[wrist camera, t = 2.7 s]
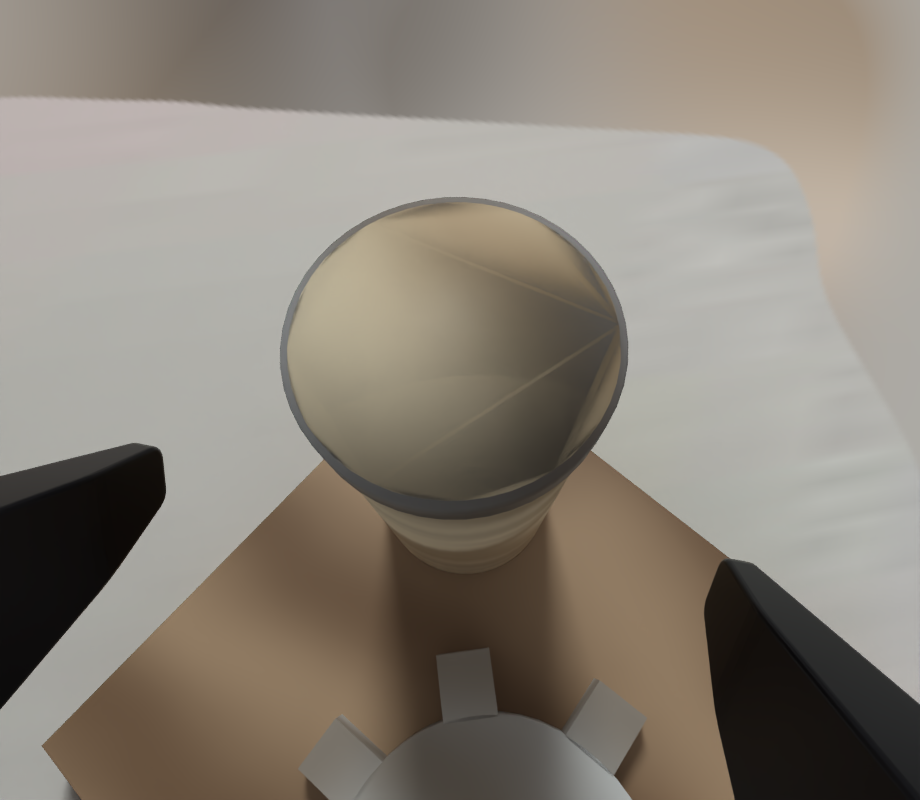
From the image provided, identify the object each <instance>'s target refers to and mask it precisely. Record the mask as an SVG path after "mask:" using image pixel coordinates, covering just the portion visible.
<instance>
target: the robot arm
mask: <svg viewBox="0 0 920 800" xmlns="http://www.w3.org/2000/svg"><path fill="white" fill-rule="evenodd" d="M165 495H166V483H165V474H164V464H163V456H162V453H161V451H160V450H159V449H158V448H157V447H154V446H149V445H144V444H139V443H131V444H127V445H123V446H119V447H115V448H111V449H107V450H103V451H99V452H95V453H91V454H87V455H83V456H79V457H75V458H71V459H67V460H63V461H59V462H55V463H51V464H47V465H43V466H39V467H35V468H31V469H27V470H23V471H19V472H15V473H11V474H7V475H3V476H0V709H1V708H2V707H3V706H4V705H5V703H6V702H7V701H8V700H9V699H10V697H11V696H12V695H13V694H14V693H15V692H16V690H17V689H18V688H19V687H20V686H21V684H22V683H23V682H24V681H25V680H26V679H27V677H28V676H29V675H30V674H31V673H32V671H33V670H34V669H35V668H36V667H37V666H38V664H39V663H40V662H41V661H42V660H43V658H44V657H45V656H46V655H47V654H48V653H49V651H50V650H51V649H52V648H53V647H54V645H55V644H56V643H57V642H58V641H59V640H60V638H61V637H62V636H63V635H64V634H65V632H66V631H67V630H68V629H69V628H70V627H71V625H72V624H73V623H74V622H75V621H76V620H77V618H78V617H79V616H80V615H81V614H82V612H83V611H84V610H85V609H86V608H87V607H88V605H89V604H90V603H91V602H92V601H93V599H94V598H95V597H96V596H97V595H98V594H99V592H100V591H101V590H102V589H103V587H104V586H105V585H106V584H107V582H108V581H109V580H110V579H111V577H112V576H113V575H114V573H115V572H116V570H117V569H118V568H119V566H120V565H121V563H122V562H123V561H124V559H125V558H126V556H127V555H128V553H129V552H130V550H131V549H132V548H133V546H134V545H135V543H136V542H137V540H138V539H139V537H140V536H141V534H142V533H143V532H144V530H145V529H146V527H147V526H148V524H149V523H150V521H151V520H152V519H153V517H154V516H155V514H156V513H157V511H158V510H159V508H160V507H161V505H162V503H163V501H164V499H165ZM704 621H705V630H706V639H707V648H708V657H709V666H710V675H711V684H712V693H713V700H714V708H715V714H716V719H717V724H718V729H719V733H720V738H721V742H722V746H723V751H724V755H725V760H726V764H727V768H728V773H729V777H730V781H731V786H732V790H733V794H734V799H735V800H920V704H919V703H918V702H916V701H915V700H914V699H913V698H912V697H910V696H909V695H908V694H907V693H906V692H905V691H903V690H902V689H901V688H900V687H899V686H897V685H896V684H895V683H894V682H893V681H892V680H890V679H889V678H888V677H887V676H886V675H884V674H883V673H882V672H881V671H880V670H879V669H877V668H876V667H875V666H874V665H873V664H871V663H870V662H869V661H868V660H867V659H866V658H864V657H863V656H862V655H861V654H860V653H858V652H857V651H856V650H855V649H854V648H852V647H851V646H850V645H849V644H848V643H847V642H845V641H844V640H843V639H842V638H841V637H839V636H838V635H837V634H836V633H835V632H834V631H832V630H831V629H830V628H829V627H828V626H826V625H825V624H824V623H823V622H822V621H821V620H819V619H818V618H817V617H816V616H815V615H813V614H812V613H811V612H810V611H809V610H808V609H806V608H805V607H804V606H803V605H802V604H800V603H799V602H798V601H797V600H796V599H795V598H793V597H792V596H791V595H790V594H789V593H787V592H786V591H785V590H784V589H783V588H782V587H780V586H779V585H778V584H777V583H776V582H774V581H773V580H772V579H771V578H770V577H769V576H767V575H766V574H765V573H764V572H763V571H761V570H760V569H759V568H758V567H757V566H755V565H754V564H752V563H750V562H745V561H740V560H735V559H729V558H726V559H724V560H722V561H721V562H720V564H719V566H718V568H717V571H716V573H715V576H714V579H713V581H712V584H711V587H710V589H709V592H708V595H707V597H706V600H705V605H704Z"/></svg>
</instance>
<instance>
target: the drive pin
mask: <svg viewBox="0 0 920 800" xmlns="http://www.w3.org/2000/svg"><path fill="white" fill-rule="evenodd" d="M627 365H628V338H627V329H626V322H625V319H624V315H623V311H622V307H621V304H620V302H619V299H618V297H617V295H616V292H615V290H614V288H613V285H612V284H611V282H610V280H609V279H608V277H607V275H606V274H605V272H604V270H603V269H602V268H601V266H600V265H599V264H598V263H597V261H596V260H595V259H594V258H593V256H592V255H591V254H590V253H589V252H588V251H587V250H586V249H585V248H584V247H583V246H582V245H581V244H580V243H579V242H578V241H577V240H576V239H575V238H573V237H572V236H571V235H569V234H568V233H567V232H565V231H564V230H563V229H561V228H560V227H558V226H557V225H555V224H553V223H552V222H550V221H548V220H546V219H545V218H543V217H541V216H539V215H536V214H534V213H532V212H530V211H527V210H525V209H522V208H519V207H516V206H513V205H510V204H506V203H503V202H497V201H492V200H487V199H479V198H468V197H445V198H436V199H428V200H421V201H417V202H413V203H408V204H404V205H401V206H398V207H395V208H392V209H389V210H387V211H384V212H382V213H380V214H377V215H375V216H373V217H371V218H369V219H367V220H365V221H363V222H362V223H360V224H359V225H357V226H355V227H354V228H352V229H350V230H349V231H347V232H346V233H345V234H344V235H342V236H341V237H340V238H339V239H337V240H336V241H335V242H334V243H332V244H331V245H330V246H329V247H328V248H327V249H326V250H325V251H324V252H323V253H322V254H321V255H320V256H319V257H318V259H317V260H316V261H315V262H314V264H313V265H312V266H311V268H310V269H309V270H308V271H307V273H306V274H305V276H304V277H303V279H302V281H301V283H300V284H299V286H298V288H297V289H296V291H295V293H294V296H293V298H292V300H291V303H290V305H289V307H288V310H287V314H286V318H285V321H284V325H283V329H282V337H281V345H280V369H281V375H282V381H283V387H284V391H285V394H286V397H287V400H288V403H289V406H290V409H291V411H292V413H293V415H294V417H295V419H296V421H297V423H298V425H299V427H300V429H301V430H302V432H303V433H304V435H305V436H306V437H307V439H308V440H309V442H310V443H311V445H312V446H313V447H314V448H315V449H316V451H317V452H318V453H319V454H320V455H321V456H322V457H323V459H324V460H325V461H326V462H327V463H328V464H329V465H330V466H331V467H332V468H333V469H334V471H335V472H336V473H337V474H338V475H339V476H340V477H341V478H342V479H344V480H345V481H346V482H347V483H349V484H350V485H351V486H352V487H354V488H355V489H356V490H357V491H359V492H360V493H361V494H362V495H363V496H364V497H365V498H366V500H367V501H368V502H369V503H370V504H371V506H372V507H373V508H374V509H375V511H376V512H377V513H378V514H379V515H380V517H381V518H382V519H383V520H384V521H385V523H386V524H387V525H388V526H389V528H390V529H391V530H392V531H393V532H394V534H395V535H396V536H397V537H398V538H399V540H400V541H401V542H402V543H403V545H404V546H405V547H406V548H407V549H408V550H409V551H410V552H411V553H412V554H413V555H414V556H416V557H417V558H418V559H419V560H421V561H422V562H424V563H426V564H427V565H429V566H431V567H434V568H436V569H438V570H442V571H445V572H449V573H455V574H476V573H483V572H486V571H490V570H493V569H495V568H498V567H500V566H502V565H504V564H506V563H507V562H509V561H511V560H512V559H514V558H515V557H516V556H517V555H518V554H520V553H521V552H522V551H523V550H524V549H525V547H526V546H527V545H528V544H529V543H530V541H531V540H532V538H533V537H534V535H535V534H536V532H537V530H538V528H539V527H540V525H541V523H542V522H543V520H544V518H545V516H546V515H547V513H548V511H549V509H550V508H551V506H552V504H553V503H554V501H555V499H556V497H557V496H558V494H559V492H560V490H561V489H562V487H563V485H564V484H565V482H566V480H567V478H568V477H569V475H570V474H571V473H572V472H573V471H574V470H575V469H576V468H577V467H578V466H579V465H580V464H581V463H582V462H583V461H584V459H585V458H586V456H587V455H588V454H589V452H590V451H591V449H592V448H593V447H594V445H595V444H596V442H597V441H598V439H599V437H600V436H601V434H602V433H603V431H604V429H605V428H606V426H607V424H608V422H609V420H610V418H611V416H612V415H613V413H614V411H615V409H616V407H617V404H618V401H619V398H620V395H621V392H622V389H623V387H624V382H625V376H626V371H627Z"/></svg>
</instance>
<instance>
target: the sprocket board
mask: <svg viewBox="0 0 920 800" xmlns="http://www.w3.org/2000/svg"><path fill="white" fill-rule="evenodd" d="M726 558H729V557H727V556H726V555H725V554H723V553H722V552H721V551H719V550H718V549H717V548H716V547H714V546H713V545H712V544H710V543H709V542H708V541H707V540H705V539H704V538H703V537H701V536H700V535H699V534H698V533H696V532H695V531H694V530H692V529H691V528H690V527H689V526H687V525H686V524H685V523H683V522H682V521H681V520H680V519H678V518H677V517H676V516H674V515H673V514H672V513H671V512H669V511H668V510H667V509H665V508H664V507H663V506H661V505H660V504H659V503H658V502H656V501H655V500H654V499H652V498H651V497H650V496H649V495H647V494H646V493H645V492H643V491H642V490H641V489H640V488H638V487H637V486H636V485H634V484H633V483H632V482H631V481H629V480H628V479H627V478H625V477H624V476H623V475H622V474H620V473H619V472H618V471H616V470H615V469H614V468H613V467H611V466H610V465H609V464H607V463H606V462H605V461H603V460H602V459H601V458H600V457H598V456H597V455H596V454H594V453H593V452H592V451H590V452H589V454H588V455H587V456H586V458H585V459H584V461H583V462H582V463H581V464H580V465H579V466H578V467H577V468H576V469H575V470H574V471H573V472H572V473H571V474H570V475H569V477H568V478H567V480H566V482H565V484H564V485H563V487H562V489H561V490H560V492H559V494H558V496H557V497H556V499H555V501H554V503H553V504H552V506H551V508H550V509H549V511H548V513H547V515H546V516H545V518H544V520H543V522H542V523H541V525H540V527H539V528H538V530H537V532H536V534H535V535H534V537H533V538H532V540H531V541H530V543H529V544H528V545H527V546H526V547H525V549H524V550H523V551H522V552H521V553H520V554H518V555H517V556H516V557H515V558H514V559H512V560H511V561H509V562H507V563H506V564H504V565H502V566H500V567H498V568H495V569H493V570H490V571H486V572H483V573H476V574H455V573H449V572H445V571H442V570H438V569H436V568H434V567H431V566H429V565H427V564H426V563H424V562H422V561H421V560H419V559H418V558H417V557H416V556H414V555H413V554H412V553H411V552H410V551H409V550H408V549H407V548H406V547H405V546H404V545H403V543H402V542H401V541H400V540H399V538H398V537H397V536H396V535H395V534H394V532H393V531H392V530H391V529H390V528H389V526H388V525H387V524H386V523H385V521H384V520H383V519H382V518H381V517H380V515H379V514H378V513H377V512H376V511H375V509H374V508H373V507H372V506H371V504H370V503H369V502H368V501H367V500H366V498H365V497H364V496H363V495H362V494H361V493H360V492H359V491H357V490H356V489H355V488H354V487H352V486H351V485H350V484H349V483H347V482H346V481H345V480H344V479H342V478H341V477H340V476H339V475H338V474H337V473H336V472H335V471H334V469H333V468H332V467H331V466H330V465H329V464H328V463H327V462H326V461H325V460H323V461H322V462H321V463H320V464H319V465H318V466H317V467H316V468H315V469H314V470H313V471H312V472H311V473H310V474H309V475H308V476H307V477H306V478H305V479H304V480H303V481H302V482H301V483H300V484H299V485H298V486H297V487H296V488H295V489H294V490H293V491H292V492H291V493H290V494H289V495H288V496H287V497H286V499H285V500H284V501H283V502H282V503H281V504H280V505H279V506H278V507H277V508H276V509H275V510H274V511H273V512H272V513H271V514H270V515H269V516H268V517H267V518H266V519H265V520H264V521H263V522H262V523H261V524H260V525H259V526H258V527H257V528H256V529H255V530H254V531H253V532H252V533H251V534H250V535H249V536H248V537H247V538H246V539H245V540H244V541H243V542H242V543H241V544H240V545H239V546H238V547H237V548H236V549H235V550H234V551H233V552H232V553H231V554H230V555H229V556H228V557H227V558H226V559H225V560H224V561H223V562H222V563H221V564H220V565H219V566H218V567H217V569H216V570H215V571H214V572H213V573H212V574H211V575H210V576H209V577H208V578H207V579H206V580H205V581H204V582H203V583H202V584H201V585H200V586H199V587H198V588H197V589H196V590H195V591H194V592H193V593H192V594H191V595H190V596H189V597H188V598H187V599H186V600H185V601H184V602H183V603H182V604H181V605H180V606H179V607H178V608H177V609H176V610H175V611H174V612H173V613H172V614H171V615H170V616H169V617H168V618H167V619H166V620H165V621H164V622H163V623H162V624H161V625H160V626H159V627H158V628H157V629H156V630H155V631H154V632H153V633H152V634H151V635H150V636H149V638H148V639H147V640H146V641H145V642H144V643H143V644H142V645H141V646H140V647H139V648H138V649H137V650H136V651H135V652H134V653H133V654H132V655H131V656H130V657H129V658H128V659H127V660H126V661H125V662H124V663H123V664H122V665H121V666H120V667H119V668H118V669H117V670H116V671H115V672H114V673H113V674H112V675H111V676H110V677H109V678H108V679H107V680H106V681H105V682H104V683H103V684H102V685H101V686H100V687H99V688H98V689H97V690H96V691H95V692H94V693H93V694H92V695H91V696H90V697H89V698H88V699H87V700H86V701H85V702H84V703H83V704H82V705H81V706H80V708H79V709H78V710H77V711H76V712H75V713H74V714H73V715H72V716H71V717H70V718H69V719H68V720H67V721H66V722H65V723H64V724H63V725H62V726H61V727H60V728H59V729H58V730H57V731H56V732H55V733H54V734H53V735H52V736H51V737H50V738H49V739H48V740H47V741H46V742H45V743H44V744H43V745H42V747H43V748H44V750H45V751H46V752H47V754H48V755H49V756H50V758H51V759H52V760H53V762H54V763H55V765H56V766H57V767H58V769H59V770H60V771H61V773H62V774H63V775H64V777H65V778H66V779H67V781H68V782H69V783H70V785H71V786H72V788H73V789H74V790H75V792H76V793H77V794H78V796H79V797H80V798H81V800H735V799H734V794H733V790H732V786H731V781H730V777H729V773H728V768H727V764H726V760H725V755H724V751H723V746H722V742H721V738H720V733H719V729H718V724H717V719H716V714H715V708H714V700H713V693H712V684H711V675H710V666H709V657H708V648H707V639H706V630H705V621H704V605H705V600H706V597H707V595H708V592H709V589H710V587H711V584H712V581H713V579H714V576H715V573H716V571H717V568H718V566H719V564H720V562H721V561H722V560H724V559H726ZM729 559H730V558H729Z"/></svg>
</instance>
